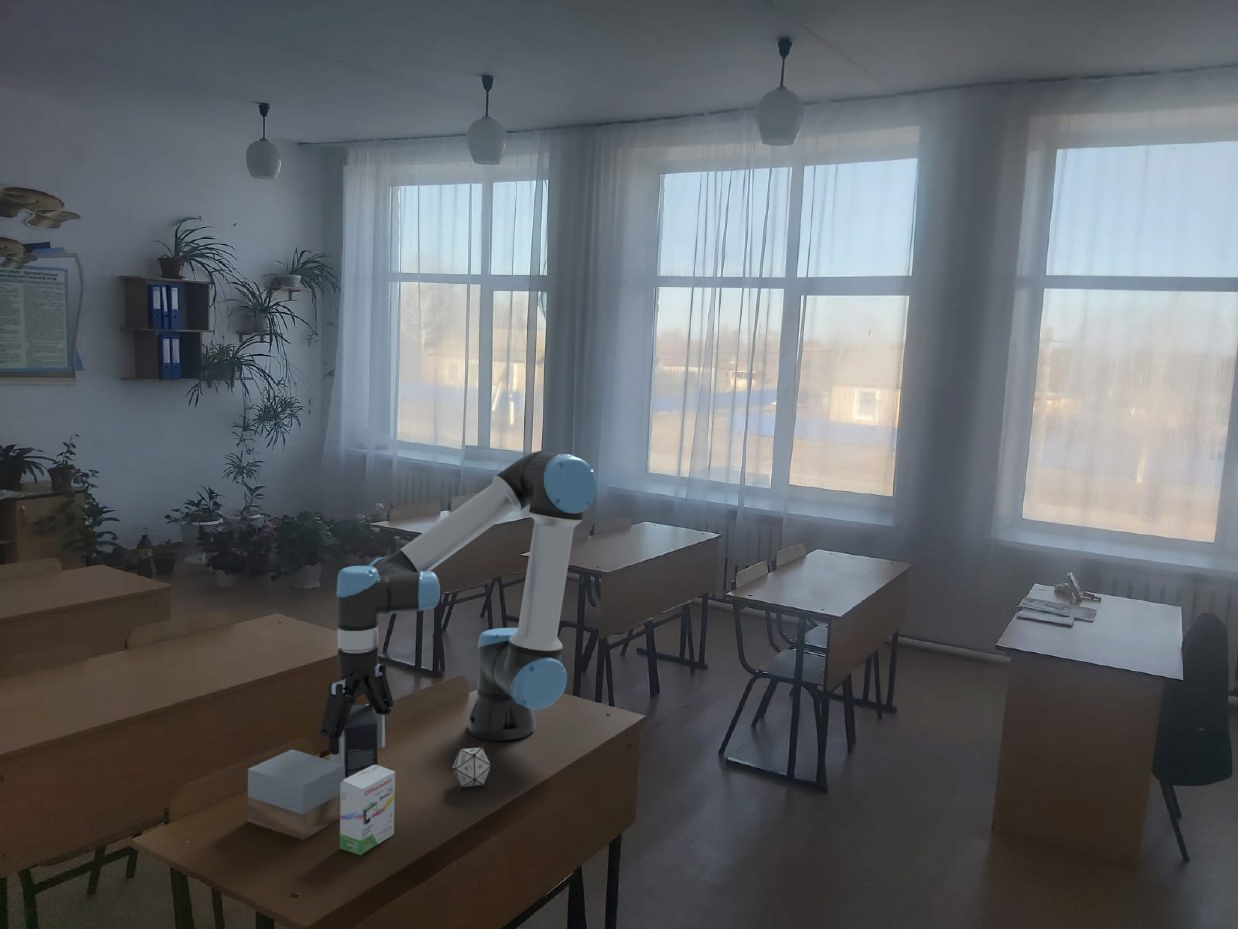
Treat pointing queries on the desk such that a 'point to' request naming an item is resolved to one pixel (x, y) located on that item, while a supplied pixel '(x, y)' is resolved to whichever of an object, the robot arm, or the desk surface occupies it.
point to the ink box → (367, 809)
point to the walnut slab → (294, 817)
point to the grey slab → (295, 781)
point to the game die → (471, 766)
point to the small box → (360, 739)
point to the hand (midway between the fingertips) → (358, 757)
